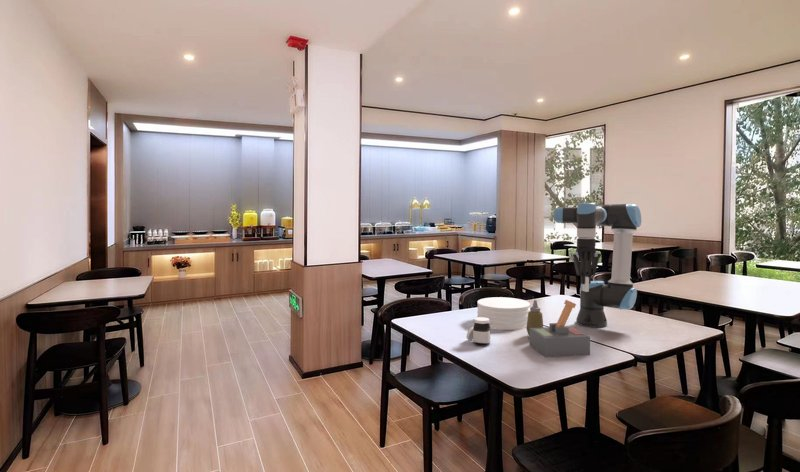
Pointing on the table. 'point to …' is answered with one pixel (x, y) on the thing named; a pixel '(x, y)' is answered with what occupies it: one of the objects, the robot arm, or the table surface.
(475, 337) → the spread jar
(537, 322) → the squeeze bottle
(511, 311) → the plate stack
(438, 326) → the table surface
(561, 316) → the breaker lever
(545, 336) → the switch block
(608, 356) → the table surface
